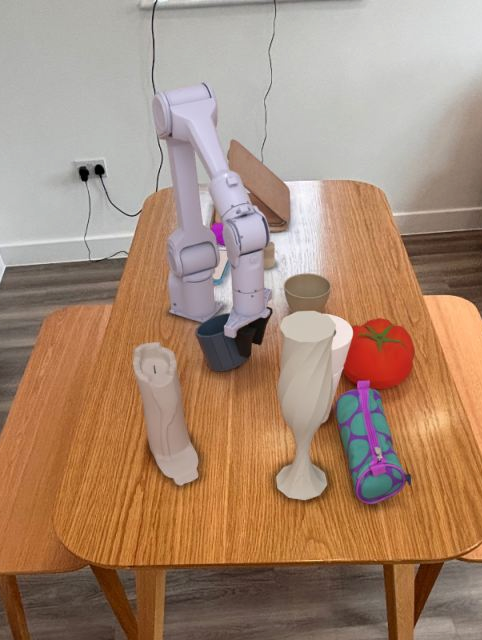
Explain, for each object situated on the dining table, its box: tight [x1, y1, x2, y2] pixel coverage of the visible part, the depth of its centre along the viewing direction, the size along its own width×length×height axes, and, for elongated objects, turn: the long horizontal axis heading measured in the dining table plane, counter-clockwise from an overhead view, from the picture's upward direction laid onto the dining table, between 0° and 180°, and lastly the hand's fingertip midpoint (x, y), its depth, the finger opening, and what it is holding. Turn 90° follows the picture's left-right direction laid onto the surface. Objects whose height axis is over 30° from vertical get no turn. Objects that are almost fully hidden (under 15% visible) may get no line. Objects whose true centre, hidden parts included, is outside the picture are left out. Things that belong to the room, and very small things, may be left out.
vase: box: [275, 311, 336, 501], centre depth 96 cm, size 9×8×30 cm
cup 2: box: [321, 313, 353, 424], centre depth 111 cm, size 11×11×18 cm
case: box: [209, 139, 291, 233], centre depth 165 cm, size 20×21×16 cm
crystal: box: [211, 222, 226, 247], centre depth 160 cm, size 5×5×5 cm
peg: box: [263, 241, 276, 270], centre depth 152 cm, size 4×4×5 cm
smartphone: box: [213, 248, 231, 285], centre depth 153 cm, size 8×1×15 cm
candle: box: [132, 341, 200, 486], centre depth 104 cm, size 7×14×20 cm, turn 24°
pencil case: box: [334, 381, 412, 505], centre depth 106 cm, size 21×9×10 cm, turn 5°
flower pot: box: [283, 272, 332, 314], centre depth 137 cm, size 10×10×7 cm
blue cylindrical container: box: [194, 312, 255, 372], centre depth 125 cm, size 11×9×8 cm
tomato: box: [342, 317, 416, 390], centre depth 122 cm, size 14×16×10 cm
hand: (250, 349), depth 123 cm, fingers closed on blue cylindrical container, 4 cm apart
